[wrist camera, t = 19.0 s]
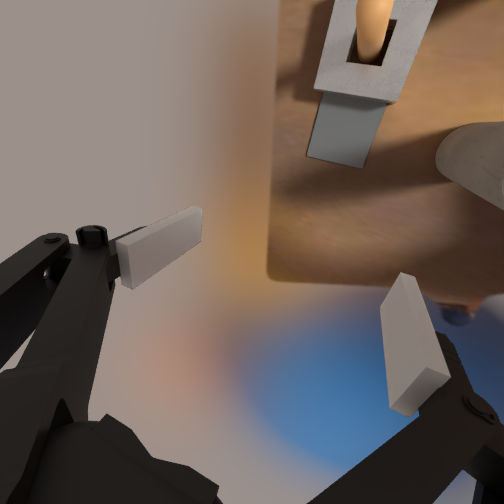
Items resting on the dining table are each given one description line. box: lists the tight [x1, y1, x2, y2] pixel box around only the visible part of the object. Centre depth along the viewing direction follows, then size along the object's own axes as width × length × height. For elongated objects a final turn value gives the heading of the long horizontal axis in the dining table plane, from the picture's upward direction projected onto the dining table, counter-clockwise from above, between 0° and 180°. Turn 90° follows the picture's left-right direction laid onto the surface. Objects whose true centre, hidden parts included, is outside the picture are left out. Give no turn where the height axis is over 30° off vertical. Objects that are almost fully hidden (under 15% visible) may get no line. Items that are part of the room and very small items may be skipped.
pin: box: [356, 0, 394, 64], centre depth 29 cm, size 3×3×16 cm
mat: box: [307, 92, 387, 169], centre depth 41 cm, size 10×10×1 cm
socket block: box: [314, 0, 438, 104], centre depth 34 cm, size 12×12×4 cm
